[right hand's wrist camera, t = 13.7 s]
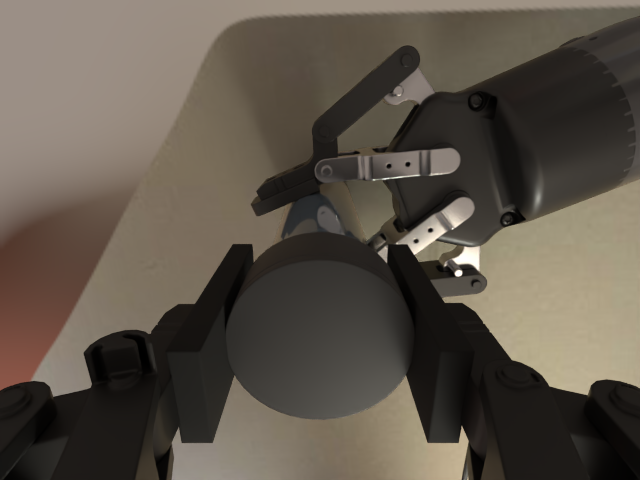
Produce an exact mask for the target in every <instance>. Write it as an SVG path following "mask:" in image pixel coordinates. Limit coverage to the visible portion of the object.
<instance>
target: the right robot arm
mask: <svg viewBox="0 0 640 480" xmlns="http://www.w3.org/2000/svg"><path fill="white" fill-rule="evenodd" d="M253 263H254V262H253V247H252V244H233V245H232V246H231V248H230V250H229V251H228V253H227V254H226V256H225V258H224V259H223V261H222V262H221V264H220V265H219V267H218V269H217V270H216V272H215V273H214V275H213V277H212V278H211V280H210V281H209V283H208V284H207V286H206V288H205V289H204V291H203V292H202V294H201V295H200V297H199V299H198V300H197V302H196V303H195V304H178V305H177V306H175V307H174V308H172V309H171V310H169V311H168V312H166V313H165V314H164V315H163V317H162V318H161V319H160V321H159V322H158V325H156V326H155V327H154V329H153V330H152V331H151V334H148V333H146V332H144V331H140V330H124V331H120V332H116V333H112V334H110V335H107V336H105V337H102V338H100V339H99V340H97V341H96V342H94V343H93V344H91V345H90V346H89V347H88V348H87V349H86V351H85V352H84V356H85V360H86V364H87V367H88V371H89V375H90V378H91V382H92V386H91V388H89V389H86V390H82V391H78V392H73V393H69V394H64V395H60V396H55V397H53V395H52V392H51V389H50V387H49V386H48V385H47V384H46V383H44V382H38V381H31V382H24V383H19V384H15V385H13V386H9V387H7V388H4V389H3V390H1V391H0V480H171V479H172V470H173V461H174V455H173V448H172V441H173V438H174V436H175V434H176V432H177V429H178V427H179V430H180V435H181V441H182V443H213V440H214V437H215V434H216V431H217V428H218V424H219V421H220V418H221V415H222V412H223V409H224V406H225V402H226V399H227V396H228V393H229V390H230V387H231V384H232V381H233V377H234V373H233V371H232V369H231V367H230V364H229V361H228V353H227V344H226V333H225V328H226V323H227V319H228V316H229V314H230V311H231V309H232V307H233V304H234V302H235V300H236V298H237V295H238V293H239V291H240V288H241V286H242V284H243V282H244V279H245V277H246V275H247V273H248V271H249V269H250V268H251V266H252V265H253ZM387 264H388V266H389V267H390V269H391V270H392V272H393V274H394V276H395V278H396V280H397V283H398V285H399V287H400V290H401V292H402V294H403V296H404V299H405V301H406V303H407V306H408V308H409V310H410V312H411V315H412V318H413V321H414V326H415V338H414V347H413V356H412V363H411V365H410V368H409V370H408V372H407V374H406V376H407V379H408V383H409V386H410V389H411V392H412V395H413V398H414V401H415V404H416V408H417V411H418V414H419V417H420V420H421V423H422V426H423V430H424V433H425V436H426V439H427V442H428V443H459V437H460V432H461V426H462V427H463V429H464V431H465V433H466V436H467V438H468V440H469V443H468V448H467V453H466V458H465V464H464V469H463V475H462V480H467V478H469V480H640V388H638V387H636V386H633V385H631V384H627V383H624V382H621V381H614V380H600V381H596V382H595V383H593V384H592V385H591V387H590V390H589V393H588V395H583V394H579V393H574V392H570V391H565V390H561V389H557V388H553V387H550V386H549V385H548V383H547V382H546V381H545V379H544V378H543V376H542V375H541V374H539V373H538V372H537V371H535V370H534V369H533V368H531V367H529V366H527V365H525V364H523V363H520V362H517V361H513V360H511V358H510V357H509V356H508V355H507V353H506V352H505V351H504V349H503V348H502V347H501V345H500V344H499V343H498V341H497V340H496V339H495V337H494V336H493V335H492V333H490V332H489V329H488V328H487V327H486V325H485V324H483V321H482V320H481V319H480V317H479V316H478V315H477V313H476V312H475V311H473V310H472V309H470V308H469V307H467V306H466V305H464V304H463V303H444V301H443V300H442V298H441V296H440V295H439V293H438V292H437V290H436V289H435V287H434V285H433V284H432V282H431V281H430V279H429V277H428V276H427V274H426V273H425V271H424V270H423V268H422V266H421V265H420V263H419V262H418V260H417V259H416V257H415V255H414V254H413V252H412V251H411V249H410V247H409V246H408V244H388V252H387Z"/></svg>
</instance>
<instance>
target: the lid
mask: <svg viewBox="0 0 640 480" xmlns="http://www.w3.org/2000/svg"><path fill="white" fill-rule="evenodd" d="M225 333H226V344H227V353H228V361H229V364H230V367H231V369H232V371H233V373H234V375H235V376H236V378H237V380H238V381H239V382H240V383H241V385H242V386H243V387H244V388H245V389H246V390H247V391H248V392H249V393H250V394H251V395H252V396H253V397H254V398H256V399H257V400H258V401H260V402H261V403H263V404H265V405H266V406H268V407H270V408H272V409H274V410H276V411H278V412H281V413H284V414H287V415H290V416H294V417H299V418H305V419H318V420H325V419H336V418H341V417H347V416H350V415H353V414H357V413H359V412H362V411H364V410H367V409H369V408H370V407H372V406H374V405H376V404H378V403H379V402H380V401H382V400H383V399H385V398H386V397H387V396H388V395H389V394H391V393H392V392H393V391H394V390H395V389H396V388H397V386H398V385H399V384H400V383H401V381H402V380H403V378H404V377H405V375H406V374H407V372H408V370H409V368H410V365H411V363H412V356H413V347H414V338H415V326H414V321H413V318H412V315H411V312H410V310H409V308H408V306H407V303H406V301H405V299H404V296H403V294H402V292H401V290H400V287H399V285H398V283H397V280H396V278H395V276H394V274H393V272H392V270H391V269H390V267H389V266H388V264H387V263H386V262H385V260H384V259H383V258H382V257H381V256H380V255H379V254H378V253H377V252H375V251H374V250H373V249H372V248H370V247H369V246H367V245H366V244H364V243H362V242H361V241H358V240H356V239H354V238H351V237H348V236H345V235H341V234H336V233H330V232H311V233H304V234H299V235H295V236H292V237H289V238H287V239H284V240H282V241H280V242H278V243H276V244H274V245H273V246H272V247H270V248H269V249H267V250H266V251H265V252H264V253H263V254H262V255H260V256H259V257H258V259H257V260H256V261H255V262H254V263H253V265H252V266H251V268H250V269H249V271H248V273H247V275H246V277H245V279H244V282H243V284H242V286H241V288H240V291H239V293H238V295H237V298H236V300H235V302H234V304H233V307H232V309H231V311H230V314H229V316H228V319H227V323H226V328H225Z"/></svg>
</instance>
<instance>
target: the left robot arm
mask: <svg viewBox="0 0 640 480" xmlns="http://www.w3.org/2000/svg"><path fill="white" fill-rule="evenodd" d="M419 62H420V56H419V53H418V51H417V50H416V49H415V48H414V47H412V46H403V47H401V48H399V49H398V50H397V51H395V52H394V53H393V54H391V55H390V56H389V57H388V58H386V59H385V60H384V61H383V62H382V63H381V64H380V65H378V66H377V67H376V68H375V69H374V70H373V71H372V72H370V73H369V74H368V75H367V76H366V77H365V78H364V79H362V80H361V81H360V82H359V83H358V84H357V85H356V86H354V87H353V88H352V89H351V90H350V91H349V92H348V93H347V94H345V95H344V96H343V97H342V98H341V99H340V100H339V101H337V102H336V103H335V104H334V105H333V106H332V107H331V108H329V109H328V110H327V111H326V112H325V113H324V114H323V115H321V116H320V117H319V118H318V119H317V120H316V121H315V123H314V125H313V128H312V134H313V149H314V153H313V155H312V157H311V158H310V159H309V160H308V161H307V162H305V163H302V164H300V165H298V166H296V167H293V168H291V169H289V170H287V171H284V172H282V173H280V174H277V175H275V176H273V177H271V178H268V179H267V180H266V181H265V182H264V183H263V184H262V185H261V186H260V187H259V189H258V190H257V191H256V192H257V194H258V196H257V197H256V198H255V199H254V200H253V202H252V203H251V206H252V208H253V210H254V212H255V214H256V216H261V215H263V214H266V213H268V212H270V211H273V210H275V209H277V208H280V207H282V206H284V205H287V204H289V203H292V202H294V201H296V200H299V199H301V198H303V197H305V196H308V195H310V194H313V193H315V192H317V191H320V185H321V184H323V183H333V182H343V181H352V180H366V181H372V180H382V179H383V182H384V183H385V185H386V186H387V187H388V189H389V190H390V191H391V193H392V201H393V208H394V211H395V214H396V215H394V216H393V217H392V218H391V219H389V220H388V221H387V222H386V223H384V224H383V226H382V227H381V229H380V230H379V232H377V233H376V234H375V235H374V236H372V237H371V238H370V239H368V240H367V244H368V246H369V247H370V248H372V249H373V250H374V251H375V252H377V253H378V254H379V255H380V256H381V257H382V258H383V259H384V260H385V262H386V263H387V252H388V244H408V246H409V247H410V249H411V251H412V252H413V254H414V255H416V254H417V253H418V252H420V251H421V250H422V249H424V248H425V247H426V246H428V245H429V244H430V243H432V242H433V241H435V240H436V241H440V242H445V243H450V244H454V245H457V246H456V248H455V249H454V250H452V251H450V252H446V253H443V254H442V255H441V257H440V258H439V260H434V261H425V262H419V263H420V265H421V266H422V268H423V270H424V271H425V273H426V274H427V276H428V277H429V279H430V281H431V282H432V284H433V285H434V287H435V289H436V290H437V292H438V293H439V295H440V296H441V297H451V296H460V295H469V294H477V293H480V292H482V291H483V290H484V289H485V288H486V286H487V280H486V278H485V277H484V276H483V275H482V274H481V272H480V246H481V245H483V244H484V243H486V242H487V241H488V240H489V239H490V238H491V237H492V236H493V235H494V234H495V233H497V232H498V231H499V230H501V229H503V228H505V227H507V226H511V225H515V224H520V223H524V222H528V221H531V220H534V219H536V218H539V217H542V216H544V215H547V214H550V213H552V212H555V211H557V210H560V209H563V208H565V207H568V206H571V205H573V204H576V203H578V202H581V201H584V200H586V199H589V198H592V197H594V196H597V195H599V194H602V193H605V192H607V191H610V190H612V189H615V188H618V187H620V186H623V185H626V184H628V183H631V182H634V181H636V180H639V179H640V16H639V17H635V18H631V19H628V20H625V21H622V22H619V23H616V24H613V25H611V26H608V27H606V28H603V29H601V30H599V31H596V32H594V33H592V34H589V35H587V36H582V37H579V38H574V39H572V40H570V41H568V42H566V43H564V44H563V45H561V46H560V47H559V48H558V49H555V50H553V51H551V52H548V53H546V54H544V55H542V56H539V57H537V58H535V59H533V60H530V61H528V62H526V63H524V64H521V65H519V66H517V67H515V68H512V69H510V70H508V71H506V72H503V73H501V74H499V75H496V76H494V77H492V78H490V79H487V80H485V81H483V82H481V83H478V84H476V85H474V86H472V87H469V88H467V89H465V90H462V91H459V92H456V93H450V92H436V93H435V91H434V90H433V88H432V87H431V85H430V84H429V82H428V81H427V79H426V78H425V76H424V75H423V73H422V72H421V70H420V69H419V67H418V66H419ZM380 100H382V101H383V102H384V103H386V104H388V105H397V104H400V103H402V102H403V101H405V100H409V101H411V102H412V103H414V105H415V106H414V107H413V109H412V110H411V112H410V113H409V115H408V117H407V118H406V120H405V121H404V123H403V124H402V126H401V128H400V129H399V131H398V132H397V134H396V135H395V137H394V138H393V140H392V142H391V143H390V145H385V146H376V147H367V148H359V149H356V150H349V151H339V152H338V147H337V137H338V136H339V135H340V134H342V133H343V132H344V131H345V130H346V129H348V128H349V127H350V126H351V125H352V124H353V123H355V122H356V121H357V120H358V119H359V118H360V117H362V116H363V115H364V114H365V113H366V112H367V111H369V110H370V109H371V108H372V107H373V106H375V105H376V104H377V103H378V102H379V101H380ZM414 239H415V240H414Z"/></svg>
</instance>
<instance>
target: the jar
mask: <svg viewBox="0 0 640 480" xmlns="http://www.w3.org/2000/svg"><path fill="white" fill-rule="evenodd" d="M311 232H330V233H336V234H341V235H345V236H348V237H351V238H354V239H356V240H358V241H361V242H362V243H364V244H366V245H367V246H368V244H367V241H366V238H365V236H364V233H363V230H362V227H361V224H360V221H359V218H358V215H357V212H356V209H355V207H354V204H353V201H352V198H351V195H350V192H349V189H348V187H347V185H346V183H345V182H344V181H343V182H333V183H323V184H321V185H320V191H317V192H315V193H313V194H310V195H308V196H305V197H303V198H301V199H299V200H296V201H294V202H292V203H289V204H287V205H286V208H285V211H284V214H283V216H282V219H281V222H280V225H279V228H278V231H277V234H276V237H275V240H274V243H273V245H274V244H276V243H278V242H280V241H282V240H284V239H287V238H289V237H292V236H295V235H299V234H304V233H311Z"/></svg>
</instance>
